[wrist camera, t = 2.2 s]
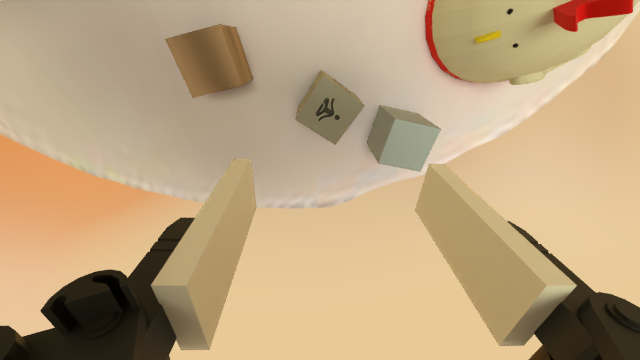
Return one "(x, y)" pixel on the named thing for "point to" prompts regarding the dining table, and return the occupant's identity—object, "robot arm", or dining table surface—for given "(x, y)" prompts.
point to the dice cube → (328, 108)
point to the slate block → (401, 138)
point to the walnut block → (210, 59)
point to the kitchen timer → (516, 35)
